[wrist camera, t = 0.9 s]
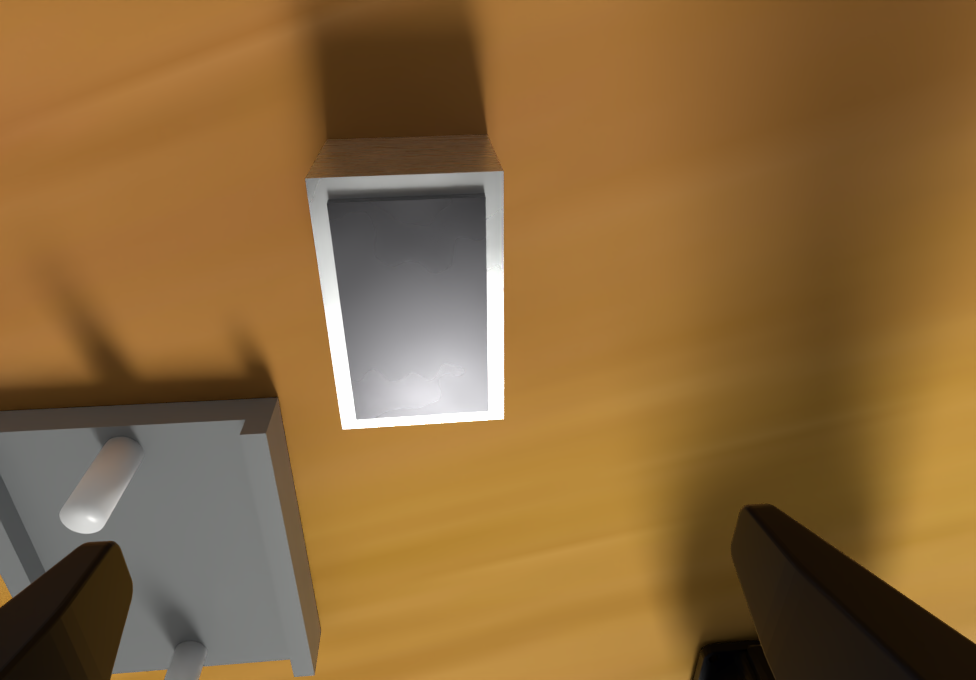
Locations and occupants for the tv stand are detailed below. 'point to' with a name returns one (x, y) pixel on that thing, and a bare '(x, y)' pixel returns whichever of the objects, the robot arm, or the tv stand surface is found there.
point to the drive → (412, 277)
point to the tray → (169, 525)
